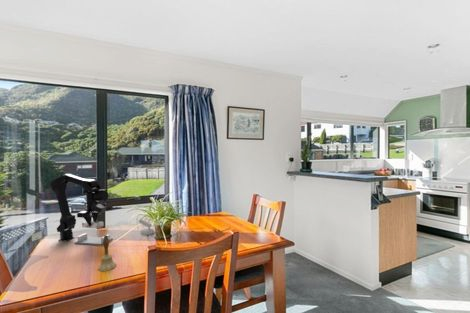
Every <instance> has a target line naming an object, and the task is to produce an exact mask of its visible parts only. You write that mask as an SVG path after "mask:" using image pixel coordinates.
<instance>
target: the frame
mask: <svg viewBox="0 0 470 313" xmlns="http://www.w3.org/2000/svg"><path fill="white" fill-rule="evenodd" d="M81 226H82V228H84V229H85V228H87V229H101V228H103V227H104V221H99V220H97V221H93V220H91V226H89V225H88V223H87V222H86V220H85V221H83V222H81Z"/></svg>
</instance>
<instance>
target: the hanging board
mask: <svg viewBox="0 0 470 313" xmlns="http://www.w3.org/2000/svg"><path fill="white" fill-rule="evenodd" d="M106 235H107V237H108V239H109V241H110V242H111V241H113V239H114V238H113V237H111V234H106ZM104 236H105V235H104ZM104 236H102V237H100V236H98V237H96V236H88V233H86V232H85V233H81V234H80V235H77V236H76V237H77V240H76V241H75V242H74V244H75V245H87V246H100V245H101V246H104V245H103V239H104Z"/></svg>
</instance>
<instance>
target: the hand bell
mask: <svg viewBox="0 0 470 313" xmlns="http://www.w3.org/2000/svg"><path fill="white" fill-rule="evenodd" d="M109 243H110V242H109V239H108V237H107V234H105V235H104V239H103V245H102V246H103V247H104V255H103V256H102V257H101V261H100V264H99V266H98V267H97V270H98V271H101V272H105V271H111V270H113V269H115V268H116V267H117V264H116V262H114V261H113V258H112V255H111V254H109V245H110V244H109Z"/></svg>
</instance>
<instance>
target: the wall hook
mask: <svg viewBox="0 0 470 313" xmlns="http://www.w3.org/2000/svg"><path fill="white" fill-rule="evenodd" d="M138 223H139V224H141V225H143V226H145V227H142V228H140V230H139V231H140V234H141V235H143V236H144V235H145V236H146V235H152V234H153V233H154V232H155V228H154V227H153V226H152V223H151V222H149V221H147V220H146V219H143V218H139V220H138Z"/></svg>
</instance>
